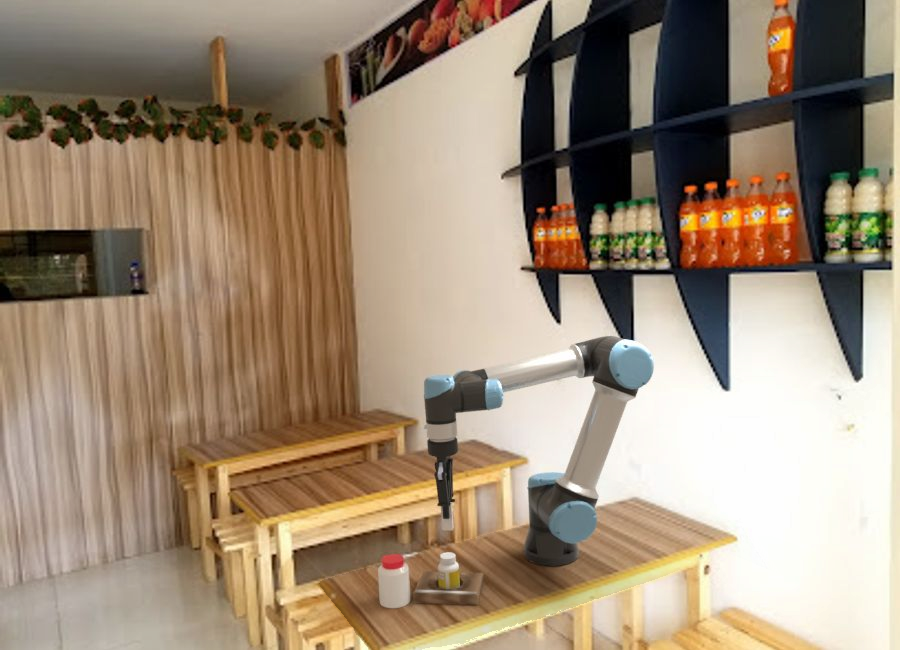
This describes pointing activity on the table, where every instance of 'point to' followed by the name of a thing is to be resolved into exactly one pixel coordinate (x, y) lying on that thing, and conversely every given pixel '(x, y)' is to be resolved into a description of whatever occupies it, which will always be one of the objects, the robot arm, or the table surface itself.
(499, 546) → the table surface
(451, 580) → the supplement bottle
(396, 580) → the pill bottle
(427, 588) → the jig
